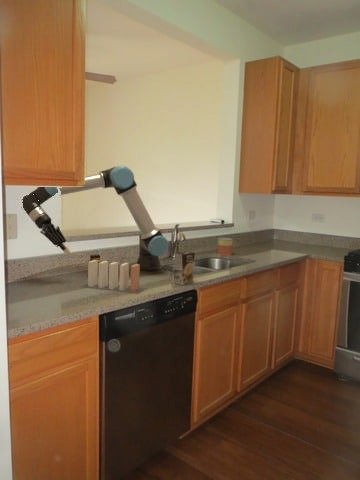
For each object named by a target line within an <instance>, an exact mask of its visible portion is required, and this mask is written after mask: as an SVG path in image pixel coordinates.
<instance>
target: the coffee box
mask: <svg viewBox="0 0 360 480" xmlns="http://www.w3.org/2000/svg"><path fill="white" fill-rule="evenodd" d="M195 254H196V253H195V252H192V251H187V250H185V251H179V252H174V263H173V264H174V265H173V282H172V283H173V284H175V285H180V286H185V285H190V284H193V283H194V278H195V277H194V275H195V274H194V273H195Z"/></svg>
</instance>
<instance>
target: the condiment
mask: <svg viewBox="0 0 360 480" xmlns="http://www.w3.org/2000/svg"><path fill="white" fill-rule="evenodd" d="M93 260H98V270H99V263H100V262H102V260H101V255H100V254H97V253H96V254H90V255H89V261H88V262H90V261H93Z"/></svg>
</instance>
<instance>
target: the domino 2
mask: <svg viewBox="0 0 360 480" xmlns="http://www.w3.org/2000/svg"><path fill="white" fill-rule="evenodd" d="M108 284H109V261H108V260H103V261H101V262H100V263H99V270H98V288H103V287H106V286H108Z"/></svg>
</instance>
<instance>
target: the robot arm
mask: <svg viewBox="0 0 360 480" xmlns="http://www.w3.org/2000/svg"><path fill="white" fill-rule="evenodd" d="M137 186H138V184H137V182H136V180H135V174H134V172H133V171H132V170H131V168H130V167H128V166H125V165H117V166H113V167H111V168H108V169H105V170H100V171H99V172H98V173H94V174H90V175H85V184H84V186H83V187H62V188H59V189H60V191H61V195H60V196H63V195H68V194H69V195H70V194H74V193H78V192H83V191H90V190H94V189H98V188H102V189H107V188H114V190H115V192H116V194H117V195H118V196H121V198H122V199H123V201H124V203H125V205H126V207H127V209H128V210H129V213H130V214H131V216H132V218H133V220H134V222H135V224H136V226H137V228H138V230H139V236H138V238H139V239H138V240H139V243H138V244H139V246H138V247H139V248H138V251H139V252H138V253H139V254H138V258H137V261H136V263H135V264H140V270H139V271H146V272H151V271H152V272H155V271H160V270H162V264H161V259H160V257H162V256H163V255H164V254H166V253H167V252H168V249H169V246H170V245H169V241H168V239H167V238H166V236H164V235H163V233H162V231H161V230H160V228H159V227H157V226H156V225H155V224H154V221H153V219H152V218H151V216H150V214H149V212H148V210H147V208H146V206H145V204H144V202H143V200H142V198H141V196H140V194H139V192H138V190H137ZM56 193H58V189H57V187H38V186H37V188H36V189H35V190H33V191H30V194H29V195H26V196H24V197H23V199H22V200H23V202H22V203H23V208H24V209H23V208H22V209H23V211H24V210H25V211H26V212H25V211H24V212H25V213H26V214H27V215H28V217H29V219H31V221H32V222H33V223H34V224H35V226H36V227H37V228H38V229H40V231H39V232H40V234H42V235H43V236H44V237H45V238H46V239H48V241H50V242H51V243H52V244H53V245H54V246H55V247H56V248H60V249H61V250H62V252H63V253H64V254H65V256H66V257H69V256H70V255H72V254H73V251H72V250H71V249H70V248H69V246H68V245H67V244H66V241H67V239H66V238H65V236H64V234H63V233H62V231H61V229H60V226H58V225H57V226H55V225H54V224H53V223H52V218H51V217H50V215H49V214H48V213H47V212H46V210H45V209H44V208H43V207H42V206H41V205H42V204H43V203H46V202H47V201H48V200H49V199H51V198H53V197H52V196H54V195H55V194H56ZM33 194H34V195H33ZM38 200H39V201H38Z"/></svg>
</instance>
